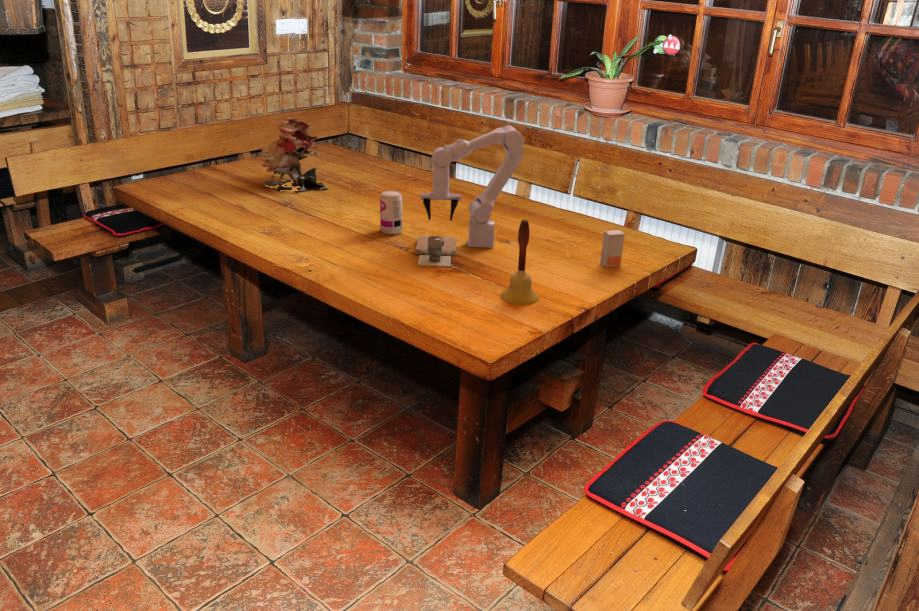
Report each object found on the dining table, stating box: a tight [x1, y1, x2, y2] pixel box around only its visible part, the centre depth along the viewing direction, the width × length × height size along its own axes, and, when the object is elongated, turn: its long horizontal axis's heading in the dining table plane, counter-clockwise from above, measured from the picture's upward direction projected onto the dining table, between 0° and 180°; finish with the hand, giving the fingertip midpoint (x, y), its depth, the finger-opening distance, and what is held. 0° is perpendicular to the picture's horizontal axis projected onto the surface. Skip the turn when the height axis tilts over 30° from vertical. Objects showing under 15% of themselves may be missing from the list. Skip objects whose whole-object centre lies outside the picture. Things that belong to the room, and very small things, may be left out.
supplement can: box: [379, 190, 403, 235], centre depth 289 cm, size 8×8×15 cm
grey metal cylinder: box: [428, 235, 442, 262], centre depth 264 cm, size 5×5×8 cm
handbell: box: [499, 219, 540, 306], centre depth 236 cm, size 12×12×25 cm
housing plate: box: [415, 235, 458, 257], centre depth 277 cm, size 14×14×2 cm
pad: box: [417, 255, 452, 268], centre depth 266 cm, size 11×9×1 cm
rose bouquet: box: [261, 117, 328, 193], centre depth 337 cm, size 26×29×30 cm
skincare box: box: [599, 229, 626, 268], centre depth 266 cm, size 6×4×12 cm
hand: (440, 219), depth 276 cm, fingers open, 7 cm apart
